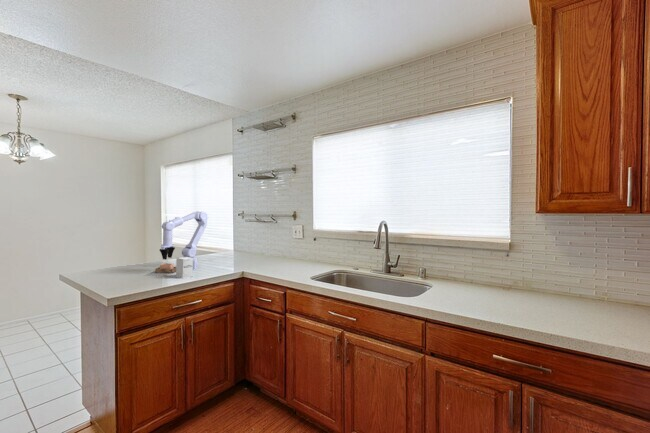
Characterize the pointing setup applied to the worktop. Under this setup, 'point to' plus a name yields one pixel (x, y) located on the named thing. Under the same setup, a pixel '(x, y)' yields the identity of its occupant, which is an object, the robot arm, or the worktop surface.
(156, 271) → the walnut crate
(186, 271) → the supplement box
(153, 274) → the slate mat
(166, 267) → the terracotta crate
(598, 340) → the worktop surface
